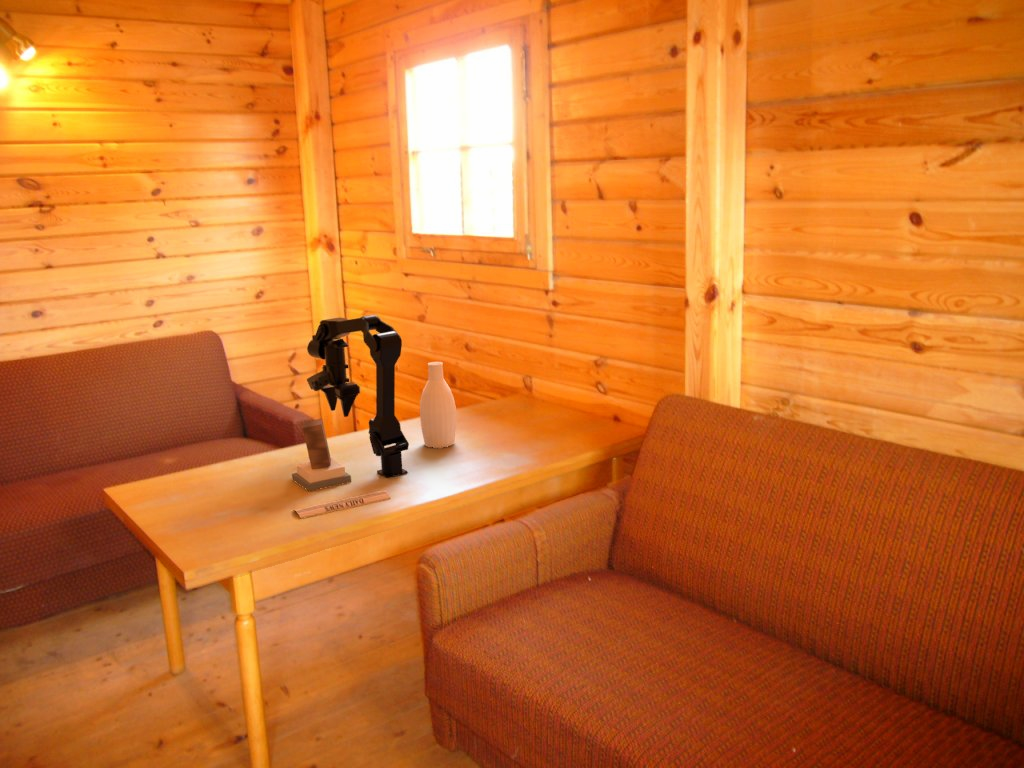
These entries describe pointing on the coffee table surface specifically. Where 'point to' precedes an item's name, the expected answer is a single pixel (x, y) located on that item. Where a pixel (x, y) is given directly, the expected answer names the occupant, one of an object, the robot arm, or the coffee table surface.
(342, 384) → the robot arm
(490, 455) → the coffee table surface
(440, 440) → the bottle
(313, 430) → the walnut block
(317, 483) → the tower base slab
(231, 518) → the coffee table surface
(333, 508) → the newspaper
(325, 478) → the tower top slab
